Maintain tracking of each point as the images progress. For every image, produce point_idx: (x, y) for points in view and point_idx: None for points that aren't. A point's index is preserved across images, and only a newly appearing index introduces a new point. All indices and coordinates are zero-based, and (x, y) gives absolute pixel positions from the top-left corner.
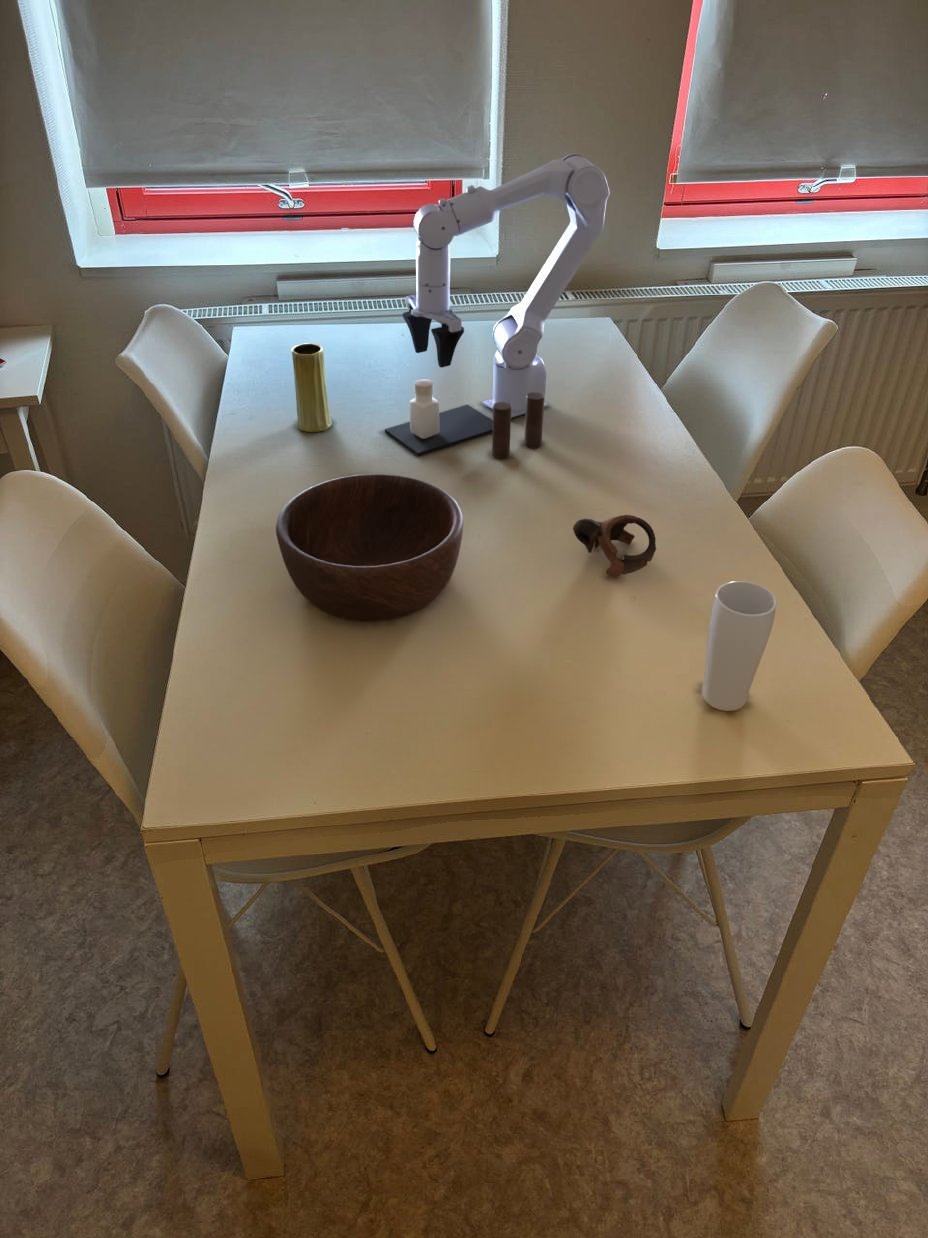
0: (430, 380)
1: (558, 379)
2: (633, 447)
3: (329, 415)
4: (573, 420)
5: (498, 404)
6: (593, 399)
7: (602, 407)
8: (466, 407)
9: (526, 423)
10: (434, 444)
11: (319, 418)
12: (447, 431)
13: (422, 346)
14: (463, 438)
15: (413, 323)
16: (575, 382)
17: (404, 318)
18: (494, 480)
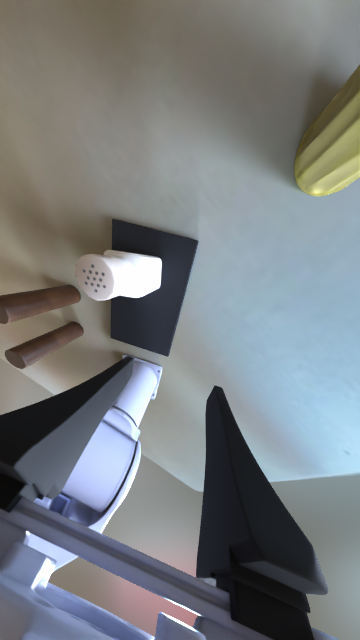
0: (95, 298)
1: (152, 422)
2: (41, 363)
3: (314, 177)
4: (94, 376)
5: (1, 311)
6: None
7: None
8: (163, 351)
9: (53, 333)
10: None
11: (326, 117)
12: None
13: (210, 405)
14: None
15: (230, 491)
16: (140, 422)
17: (292, 528)
18: (30, 243)
